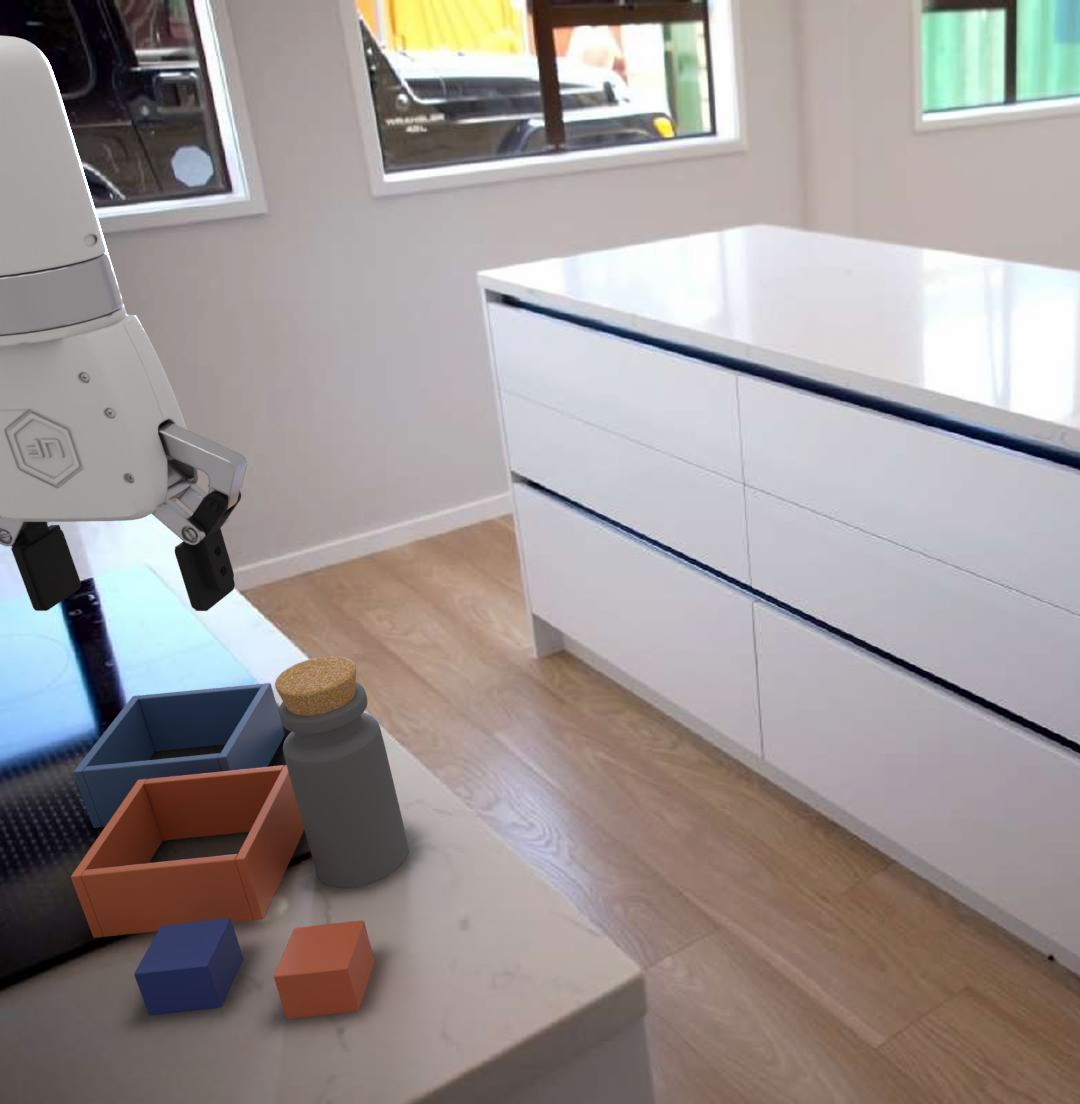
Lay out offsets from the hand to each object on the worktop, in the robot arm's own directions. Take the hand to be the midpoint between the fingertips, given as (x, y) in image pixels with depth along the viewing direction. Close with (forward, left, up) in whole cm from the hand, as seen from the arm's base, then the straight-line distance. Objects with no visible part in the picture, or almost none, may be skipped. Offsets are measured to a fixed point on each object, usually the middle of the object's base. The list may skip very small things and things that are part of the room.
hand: (136, 600), depth 71 cm
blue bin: (-7, +15, -22) cm, 28 cm away
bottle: (+8, +3, -23) cm, 24 cm away
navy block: (+1, -8, -22) cm, 24 cm away
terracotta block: (+9, -9, -22) cm, 26 cm away
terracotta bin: (-2, +3, -22) cm, 23 cm away
